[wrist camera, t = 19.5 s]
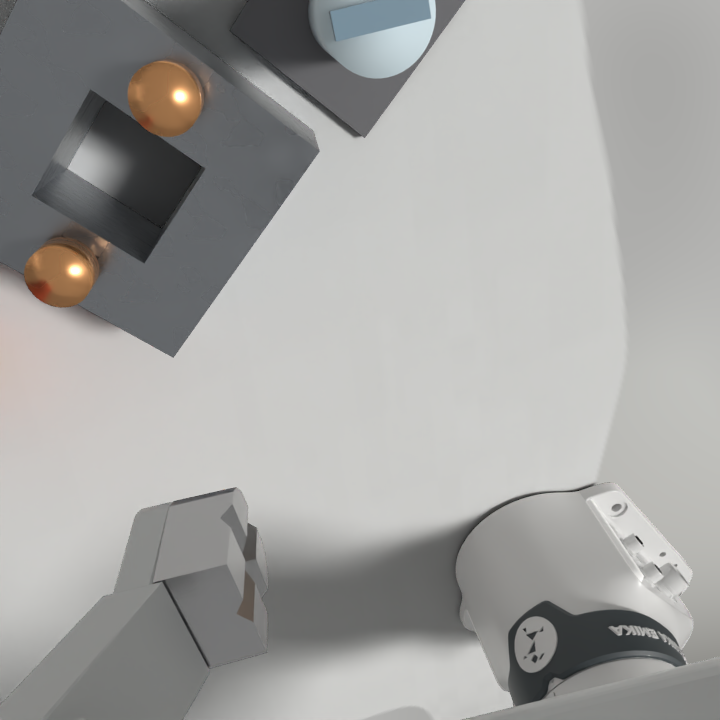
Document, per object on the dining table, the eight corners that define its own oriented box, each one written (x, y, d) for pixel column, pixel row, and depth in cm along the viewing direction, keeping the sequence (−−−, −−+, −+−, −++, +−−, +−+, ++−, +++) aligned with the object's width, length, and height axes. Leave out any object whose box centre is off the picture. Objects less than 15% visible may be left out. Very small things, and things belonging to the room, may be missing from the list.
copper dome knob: (220, 82, 32) (212, 93, 28) (188, 134, 33) (177, 150, 29) (165, 41, 30) (149, 46, 27) (134, 95, 31) (114, 107, 28)
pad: (465, -5, 34) (468, -5, 34) (363, 136, 37) (364, 138, 37) (331, -136, 31) (332, -138, 31) (230, 30, 34) (229, 30, 33)
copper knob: (121, 242, 35) (101, 271, 31) (94, 284, 36) (72, 318, 32) (68, 210, 34) (41, 236, 30) (42, 255, 35) (13, 285, 31)
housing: (313, 130, 37) (319, 151, 32) (186, 313, 41) (173, 357, 36) (83, -47, 32) (44, -58, 26) (-34, 184, 36) (-87, 213, 31)
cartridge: (382, -45, 33) (430, -71, 22) (398, 49, 35) (448, 65, 24) (298, -24, 33) (307, -40, 22) (319, 68, 35) (336, 92, 25)
